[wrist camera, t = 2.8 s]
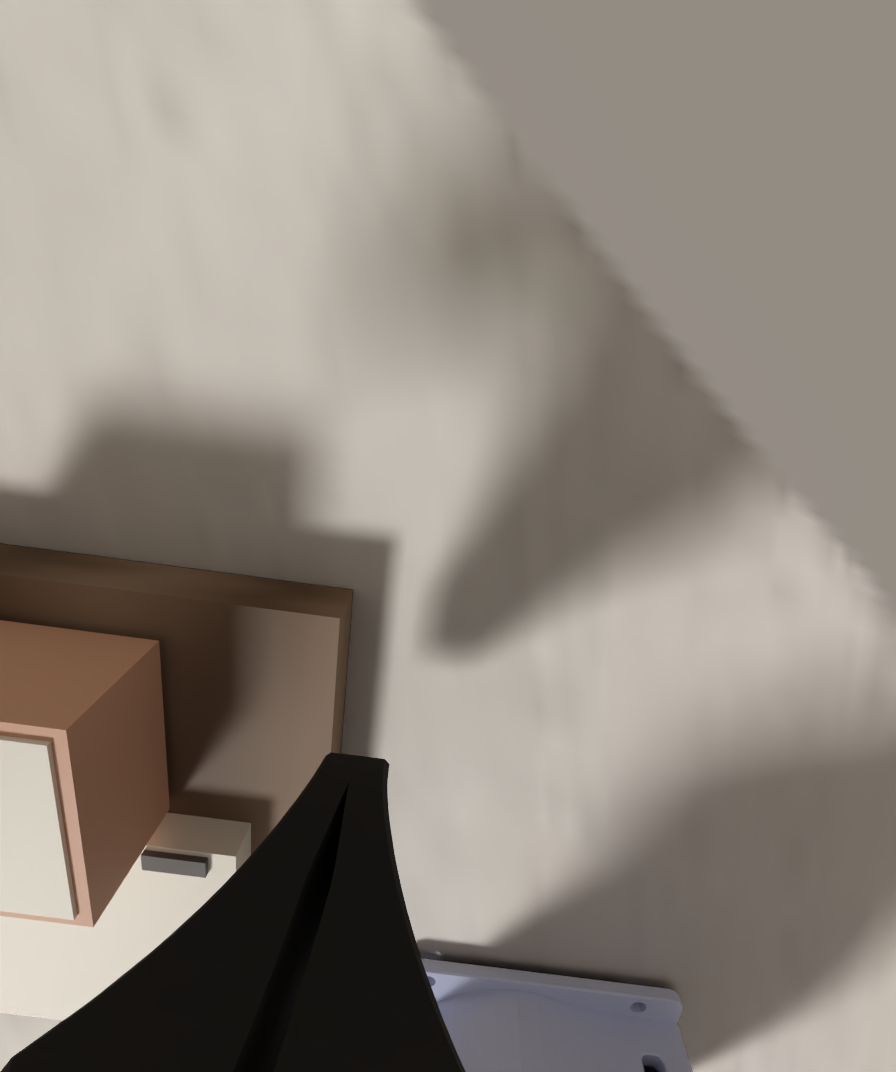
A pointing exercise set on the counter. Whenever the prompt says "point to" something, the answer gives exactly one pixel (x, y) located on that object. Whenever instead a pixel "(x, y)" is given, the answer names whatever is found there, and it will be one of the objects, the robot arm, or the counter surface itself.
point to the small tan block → (76, 767)
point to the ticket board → (184, 742)
